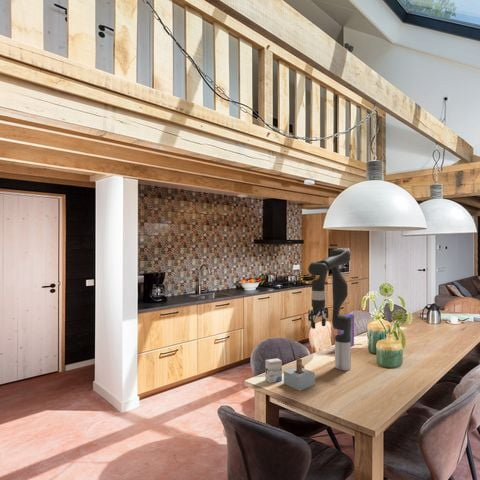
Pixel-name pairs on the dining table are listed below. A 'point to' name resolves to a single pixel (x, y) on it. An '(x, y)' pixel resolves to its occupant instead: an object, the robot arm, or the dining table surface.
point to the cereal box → (351, 330)
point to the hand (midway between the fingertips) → (318, 327)
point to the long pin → (299, 366)
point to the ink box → (273, 370)
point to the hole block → (299, 379)
